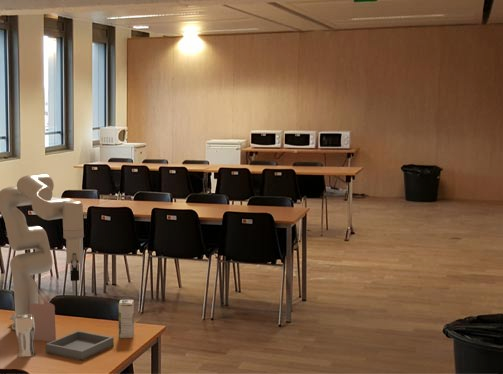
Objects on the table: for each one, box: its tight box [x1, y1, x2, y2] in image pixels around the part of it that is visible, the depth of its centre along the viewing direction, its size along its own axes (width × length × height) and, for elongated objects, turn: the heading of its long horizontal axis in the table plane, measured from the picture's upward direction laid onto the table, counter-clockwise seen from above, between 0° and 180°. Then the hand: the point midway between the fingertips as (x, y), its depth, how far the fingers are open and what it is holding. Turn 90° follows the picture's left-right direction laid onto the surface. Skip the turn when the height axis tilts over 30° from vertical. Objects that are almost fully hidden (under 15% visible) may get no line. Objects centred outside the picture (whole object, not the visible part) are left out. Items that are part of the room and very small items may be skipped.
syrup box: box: [118, 299, 135, 339], centre depth 292 cm, size 6×6×14 cm
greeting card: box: [30, 299, 57, 342], centre depth 288 cm, size 11×7×15 cm, turn 37°
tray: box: [45, 330, 115, 361], centre depth 277 cm, size 18×18×4 cm
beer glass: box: [15, 314, 36, 359], centre depth 271 cm, size 7×7×15 cm
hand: (75, 277), depth 276 cm, fingers open, 9 cm apart
